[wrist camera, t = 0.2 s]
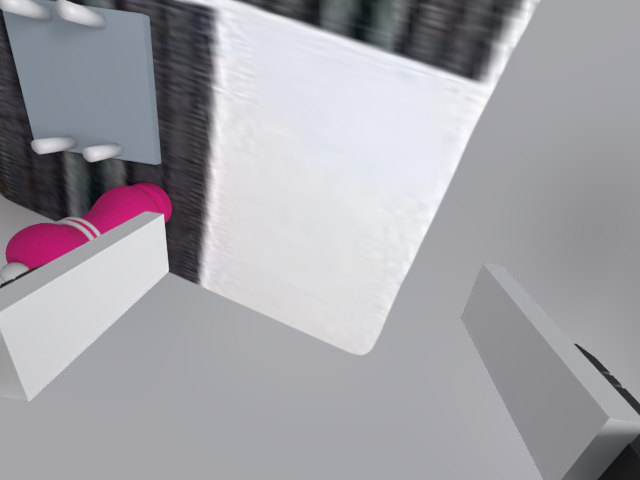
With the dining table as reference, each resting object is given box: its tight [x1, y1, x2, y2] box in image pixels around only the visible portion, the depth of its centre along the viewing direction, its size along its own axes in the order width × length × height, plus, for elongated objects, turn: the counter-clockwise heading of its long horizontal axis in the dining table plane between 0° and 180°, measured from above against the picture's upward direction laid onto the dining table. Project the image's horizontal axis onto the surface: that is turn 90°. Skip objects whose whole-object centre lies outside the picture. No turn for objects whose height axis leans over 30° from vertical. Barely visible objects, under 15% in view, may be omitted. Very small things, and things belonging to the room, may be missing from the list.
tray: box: [0, 0, 161, 165], centre depth 35 cm, size 16×16×6 cm
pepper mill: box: [0, 182, 172, 282], centre depth 34 cm, size 7×7×20 cm
